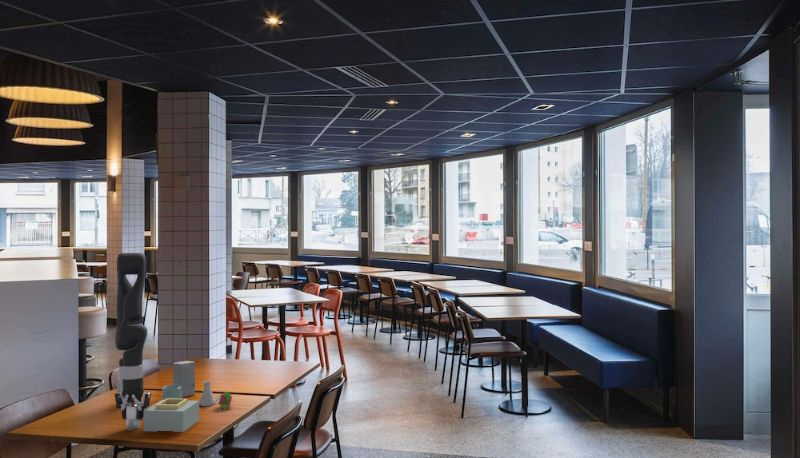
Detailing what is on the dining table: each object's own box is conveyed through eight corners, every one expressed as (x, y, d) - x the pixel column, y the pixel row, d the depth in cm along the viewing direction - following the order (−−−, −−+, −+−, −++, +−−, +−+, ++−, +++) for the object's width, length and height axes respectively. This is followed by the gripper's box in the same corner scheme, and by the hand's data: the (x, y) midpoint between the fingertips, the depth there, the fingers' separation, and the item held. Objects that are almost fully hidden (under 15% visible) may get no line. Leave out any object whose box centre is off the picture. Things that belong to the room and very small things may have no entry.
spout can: (123, 430, 225) (123, 403, 226) (130, 426, 230) (130, 399, 231) (135, 430, 225) (135, 403, 225) (142, 426, 230) (142, 399, 230)
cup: (163, 413, 246) (163, 390, 246) (161, 408, 253) (161, 385, 253) (182, 410, 250) (182, 387, 250) (180, 406, 257) (180, 383, 257)
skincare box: (180, 398, 268) (179, 364, 268) (171, 396, 272) (171, 362, 273) (196, 394, 275) (196, 361, 275) (187, 392, 279) (187, 359, 279)
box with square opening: (143, 431, 224) (143, 406, 224) (161, 419, 238) (161, 396, 238) (183, 432, 223) (183, 407, 223) (199, 420, 237) (199, 397, 237)
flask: (210, 407, 255) (210, 384, 255) (195, 406, 256) (195, 383, 257) (218, 402, 262) (218, 380, 262) (204, 401, 264) (204, 379, 264)
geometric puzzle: (229, 398, 261) (220, 386, 257) (240, 400, 257) (231, 388, 253) (219, 411, 256) (210, 399, 252) (230, 413, 252) (221, 401, 248)
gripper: (109, 378, 225) (110, 421, 225) (145, 378, 224) (145, 422, 223) (120, 373, 232) (120, 415, 232) (155, 374, 231) (155, 416, 231)
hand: (133, 418), depth 228 cm, fingers open, 5 cm apart
